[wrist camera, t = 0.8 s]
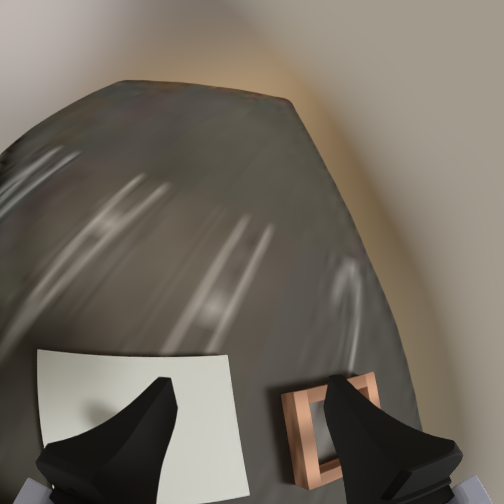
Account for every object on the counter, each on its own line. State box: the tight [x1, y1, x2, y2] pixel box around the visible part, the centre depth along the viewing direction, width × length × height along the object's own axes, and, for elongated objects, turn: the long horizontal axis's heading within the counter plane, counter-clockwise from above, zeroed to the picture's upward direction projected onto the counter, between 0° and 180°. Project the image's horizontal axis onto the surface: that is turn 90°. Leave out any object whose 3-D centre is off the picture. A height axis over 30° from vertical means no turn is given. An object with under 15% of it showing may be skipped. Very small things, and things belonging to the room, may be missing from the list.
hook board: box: [37, 349, 250, 504], centre depth 18 cm, size 16×20×6 cm
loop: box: [281, 372, 381, 490], centre depth 27 cm, size 12×12×3 cm
